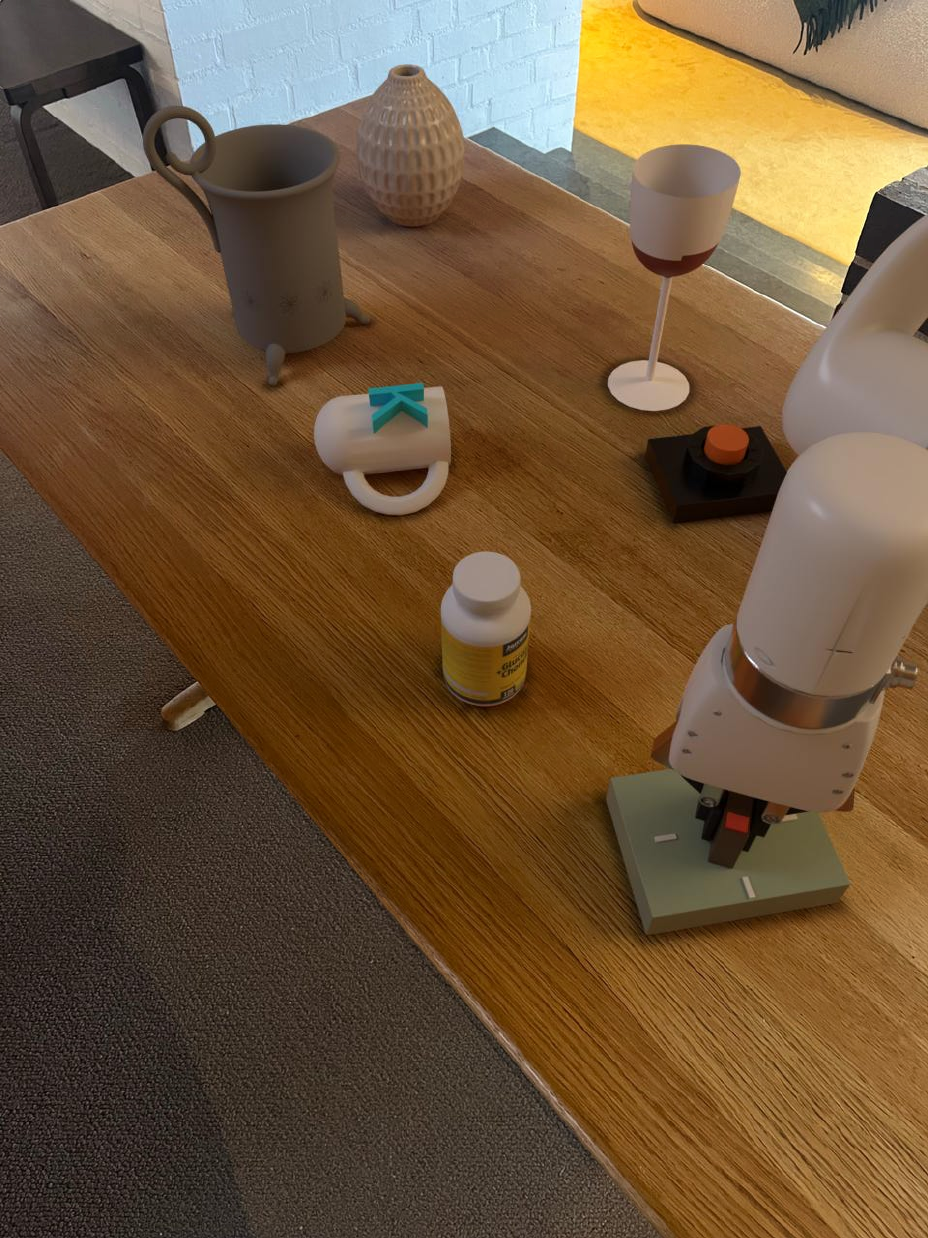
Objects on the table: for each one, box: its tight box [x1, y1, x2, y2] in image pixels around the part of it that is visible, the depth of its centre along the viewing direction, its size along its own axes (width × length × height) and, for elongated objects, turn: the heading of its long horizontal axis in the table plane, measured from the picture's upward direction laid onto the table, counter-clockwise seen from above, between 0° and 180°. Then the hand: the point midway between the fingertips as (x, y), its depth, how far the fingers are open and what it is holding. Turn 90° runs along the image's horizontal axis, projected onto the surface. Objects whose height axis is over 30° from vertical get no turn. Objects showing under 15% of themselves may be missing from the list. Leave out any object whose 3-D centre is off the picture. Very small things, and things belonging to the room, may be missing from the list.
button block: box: [644, 424, 787, 524], centre depth 87 cm, size 11×9×4 cm
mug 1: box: [142, 105, 371, 387], centre depth 93 cm, size 19×15×25 cm
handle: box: [708, 790, 755, 869], centre depth 61 cm, size 6×2×5 cm, turn 162°
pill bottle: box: [440, 551, 532, 707], centre depth 70 cm, size 6×6×12 cm
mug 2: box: [313, 382, 452, 516], centre depth 86 cm, size 12×9×12 cm
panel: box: [605, 768, 851, 936], centre depth 64 cm, size 13×10×3 cm
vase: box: [355, 63, 466, 228], centre depth 113 cm, size 13×13×17 cm
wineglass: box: [607, 143, 742, 412], centre depth 89 cm, size 9×10×22 cm
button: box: [704, 423, 749, 465], centre depth 85 cm, size 4×4×2 cm
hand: (727, 825), depth 63 cm, fingers closed on handle
